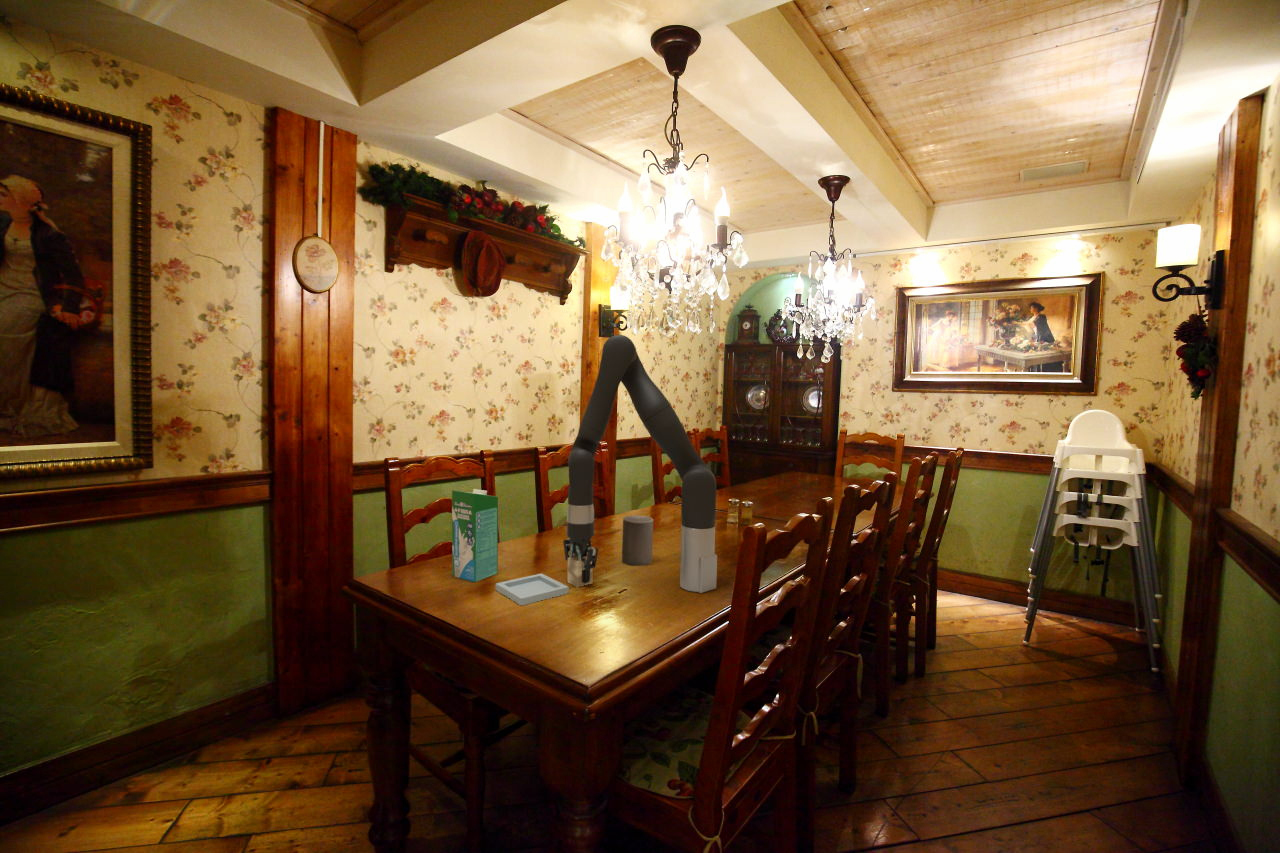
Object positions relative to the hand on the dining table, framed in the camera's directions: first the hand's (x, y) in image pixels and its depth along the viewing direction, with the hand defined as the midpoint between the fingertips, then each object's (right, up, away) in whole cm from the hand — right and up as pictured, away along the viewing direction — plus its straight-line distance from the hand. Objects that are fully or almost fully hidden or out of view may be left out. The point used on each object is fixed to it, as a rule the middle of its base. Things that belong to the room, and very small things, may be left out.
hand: (579, 579), depth 160 cm
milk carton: (-31, 0, +5) cm, 31 cm away
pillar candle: (+16, 0, +21) cm, 27 cm away
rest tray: (-12, -1, -7) cm, 14 cm away
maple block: (0, -1, 0) cm, 1 cm away
